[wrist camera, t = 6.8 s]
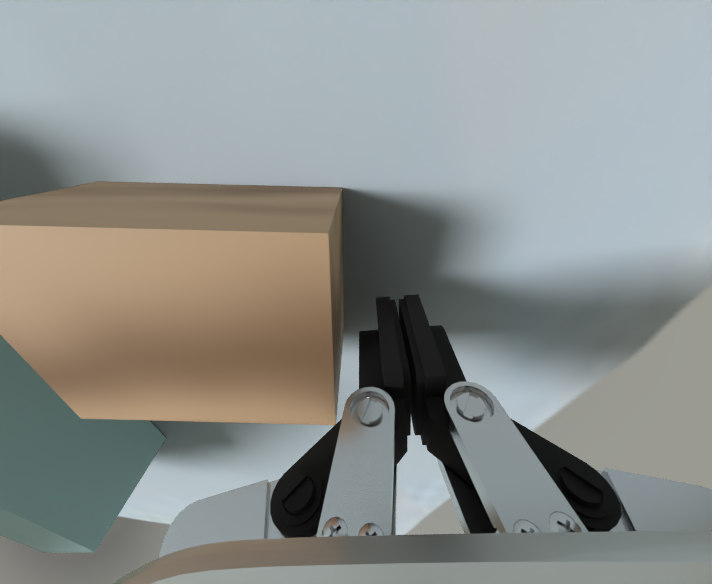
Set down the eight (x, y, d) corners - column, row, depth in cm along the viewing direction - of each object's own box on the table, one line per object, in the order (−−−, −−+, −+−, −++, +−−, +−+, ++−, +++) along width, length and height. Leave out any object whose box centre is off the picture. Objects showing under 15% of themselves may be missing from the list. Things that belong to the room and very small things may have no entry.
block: (99, 180, 10) (-107, 222, 5) (342, 187, 10) (328, 233, 5) (169, 326, 13) (80, 418, 9) (343, 330, 13) (335, 425, 9)
